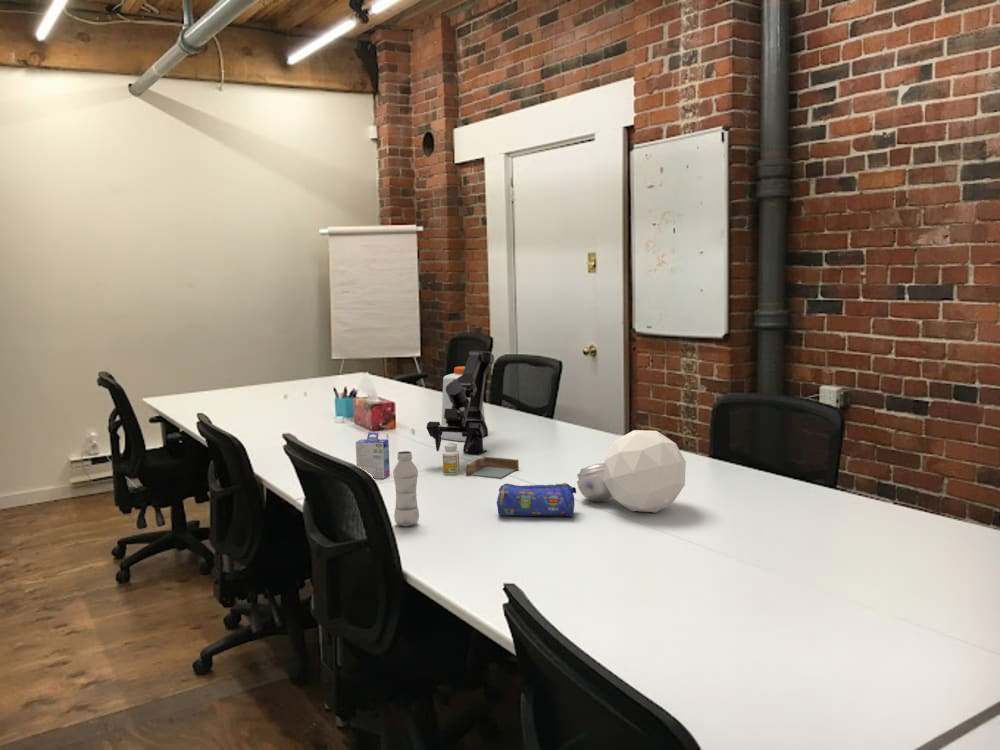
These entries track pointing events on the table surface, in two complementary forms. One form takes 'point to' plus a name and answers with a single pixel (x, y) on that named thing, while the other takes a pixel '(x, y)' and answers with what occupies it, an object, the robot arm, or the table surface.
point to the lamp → (637, 472)
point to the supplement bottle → (451, 460)
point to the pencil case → (536, 500)
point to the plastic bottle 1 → (405, 490)
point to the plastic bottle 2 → (448, 405)
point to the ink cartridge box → (373, 456)
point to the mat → (493, 472)
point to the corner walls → (491, 464)
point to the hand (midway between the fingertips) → (450, 451)
